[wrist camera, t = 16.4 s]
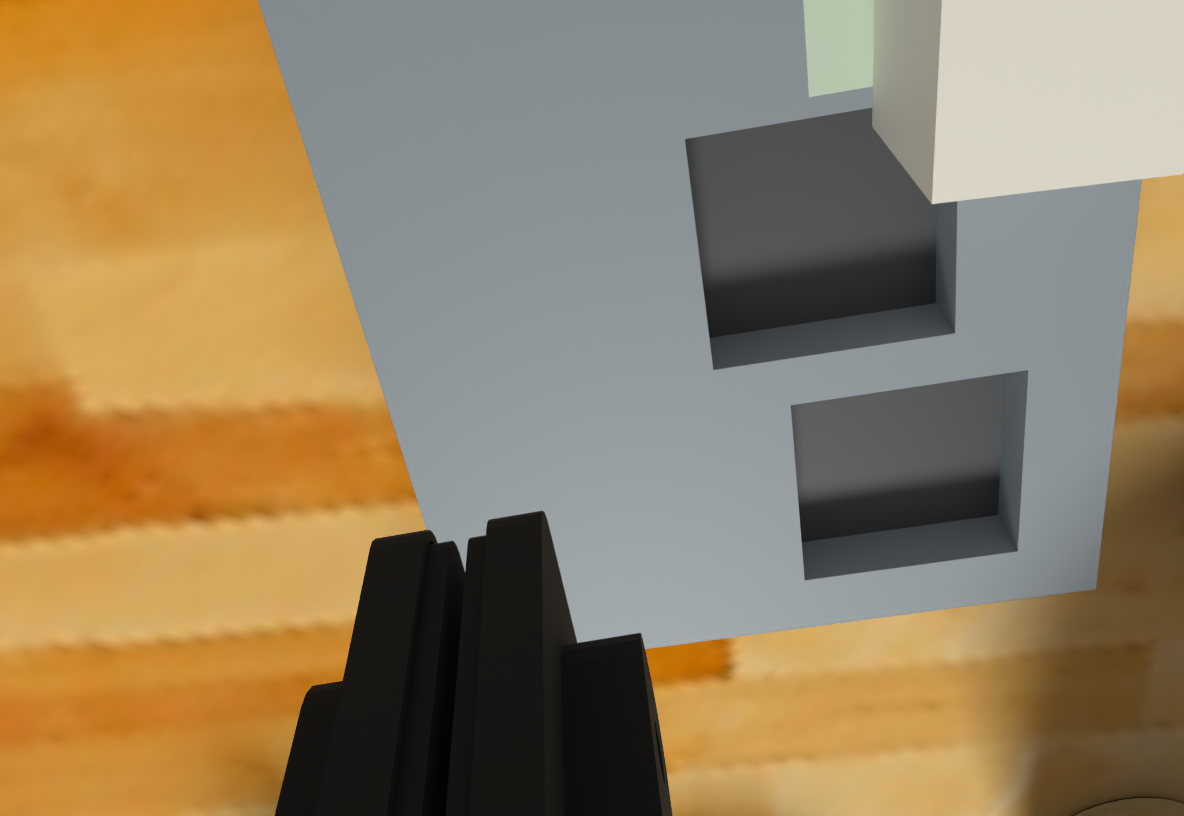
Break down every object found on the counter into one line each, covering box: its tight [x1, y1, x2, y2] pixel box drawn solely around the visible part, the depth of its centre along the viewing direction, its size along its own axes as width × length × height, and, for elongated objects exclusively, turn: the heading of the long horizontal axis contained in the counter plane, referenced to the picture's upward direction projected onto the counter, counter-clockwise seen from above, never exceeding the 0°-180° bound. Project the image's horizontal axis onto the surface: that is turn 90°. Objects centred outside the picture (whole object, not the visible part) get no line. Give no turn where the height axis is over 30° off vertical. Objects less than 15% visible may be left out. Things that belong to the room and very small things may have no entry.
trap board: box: [258, 0, 1142, 649], centre depth 27 cm, size 20×25×4 cm
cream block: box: [872, 0, 1184, 204], centre depth 22 cm, size 6×6×5 cm
